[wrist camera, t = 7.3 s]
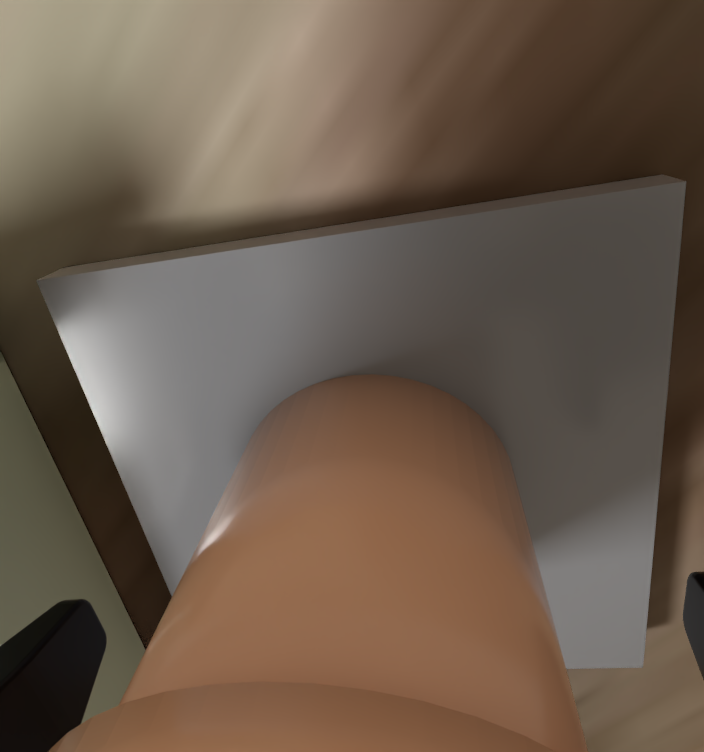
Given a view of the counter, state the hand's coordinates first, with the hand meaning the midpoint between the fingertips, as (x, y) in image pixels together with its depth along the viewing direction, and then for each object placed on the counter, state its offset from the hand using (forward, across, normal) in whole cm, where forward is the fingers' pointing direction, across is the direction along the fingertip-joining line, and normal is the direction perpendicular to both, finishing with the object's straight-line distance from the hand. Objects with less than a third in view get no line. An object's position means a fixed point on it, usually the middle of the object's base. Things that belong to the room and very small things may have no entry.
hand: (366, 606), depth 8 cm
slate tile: (+3, 0, 0) cm, 3 cm away
